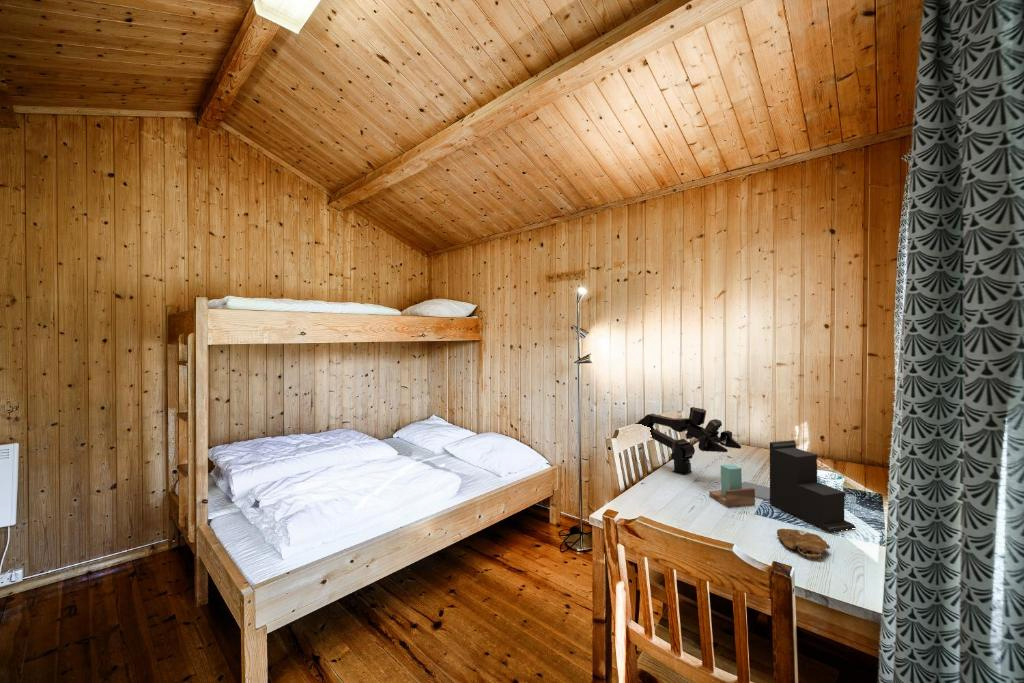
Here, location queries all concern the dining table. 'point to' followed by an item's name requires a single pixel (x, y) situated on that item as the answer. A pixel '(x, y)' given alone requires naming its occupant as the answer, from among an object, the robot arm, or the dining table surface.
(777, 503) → the bookend
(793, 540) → the decorative rock
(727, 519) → the dining table surface
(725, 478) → the teal block
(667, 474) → the dining table surface
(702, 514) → the dining table surface
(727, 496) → the walnut ledge
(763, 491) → the slate mat
